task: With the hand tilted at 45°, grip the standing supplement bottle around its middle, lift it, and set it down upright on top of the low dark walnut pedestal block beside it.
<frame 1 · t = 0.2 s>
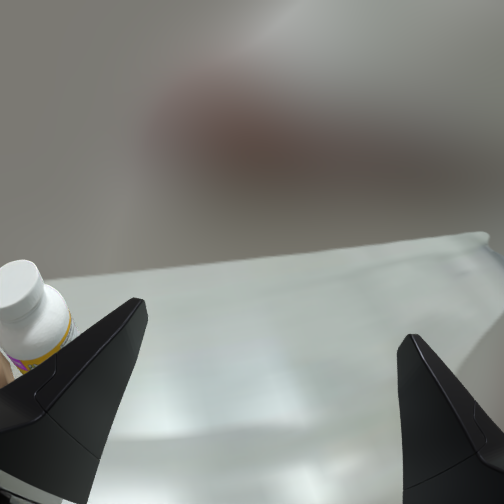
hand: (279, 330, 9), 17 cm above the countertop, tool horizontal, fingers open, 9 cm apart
supplement bottle: (72, 383, 22), on the countertop
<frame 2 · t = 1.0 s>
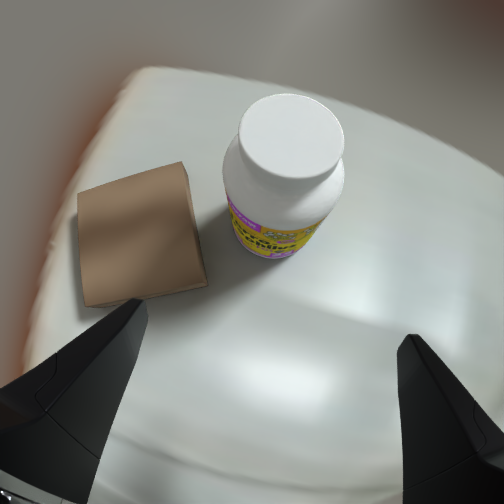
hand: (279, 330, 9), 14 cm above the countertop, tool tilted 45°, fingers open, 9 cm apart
supplement bottle: (272, 221, 25), on the countertop
walnut pedestal: (141, 240, 24), on the countertop
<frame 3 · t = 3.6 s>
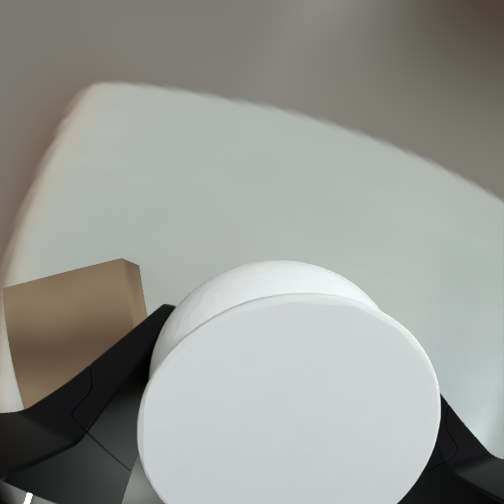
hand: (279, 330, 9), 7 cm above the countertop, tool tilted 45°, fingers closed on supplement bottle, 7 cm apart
supplement bottle: (264, 345, 16), on the countertop, touching gripper
walnut pedestal: (85, 356, 16), on the countertop
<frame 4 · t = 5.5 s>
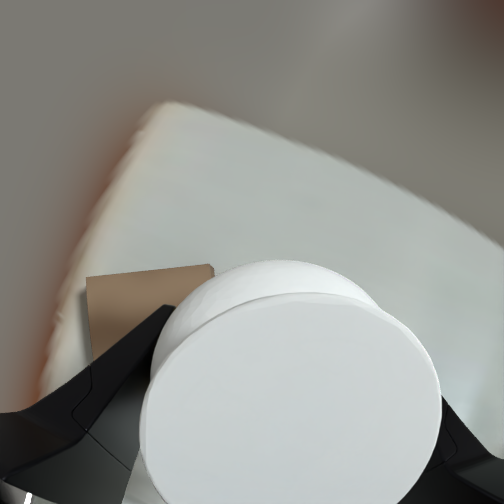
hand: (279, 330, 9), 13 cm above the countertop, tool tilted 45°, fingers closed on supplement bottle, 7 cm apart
supplement bottle: (264, 344, 16), point 6 cm above the countertop, touching gripper
walnut pedestal: (158, 337, 22), on the countertop
when the fingers open (11 cm above the countertop, at t = 7.3 s): supplement bottle stays where it is, resting on walnut pedestal.
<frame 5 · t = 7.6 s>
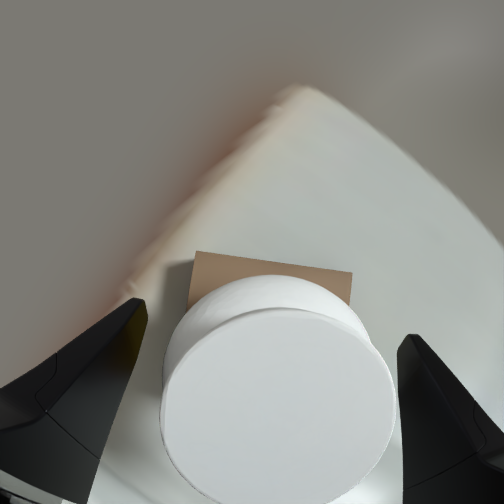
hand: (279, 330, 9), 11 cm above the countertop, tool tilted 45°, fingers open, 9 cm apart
supplement bottle: (261, 345, 17), point 2 cm above the countertop, touching walnut pedestal
walnut pedestal: (262, 338, 20), on the countertop
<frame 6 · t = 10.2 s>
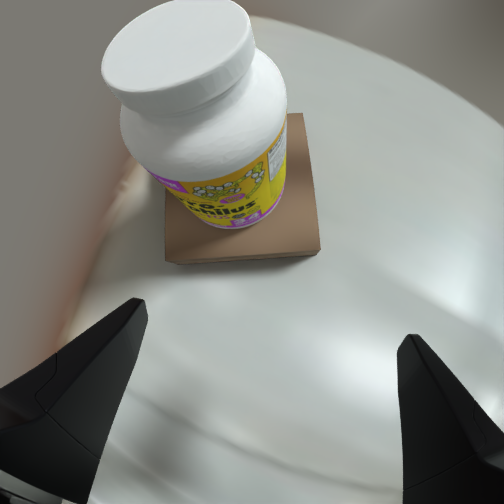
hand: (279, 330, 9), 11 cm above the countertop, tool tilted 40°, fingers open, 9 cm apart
supplement bottle: (235, 183, 19), point 2 cm above the countertop, touching walnut pedestal
walnut pedestal: (241, 192, 22), on the countertop
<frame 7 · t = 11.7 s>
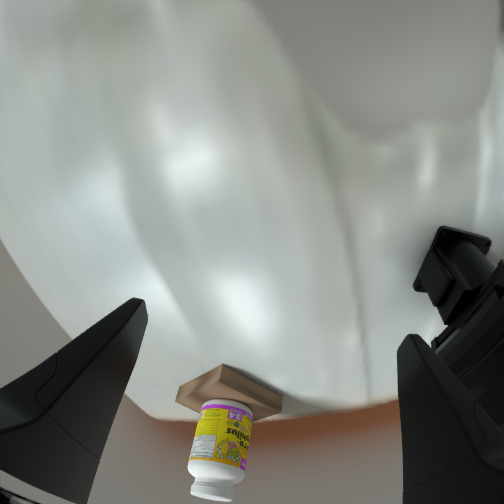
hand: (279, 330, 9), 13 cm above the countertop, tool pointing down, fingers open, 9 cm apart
supplement bottle: (228, 407, 34), point 2 cm above the countertop, touching walnut pedestal
walnut pedestal: (229, 392, 36), on the countertop
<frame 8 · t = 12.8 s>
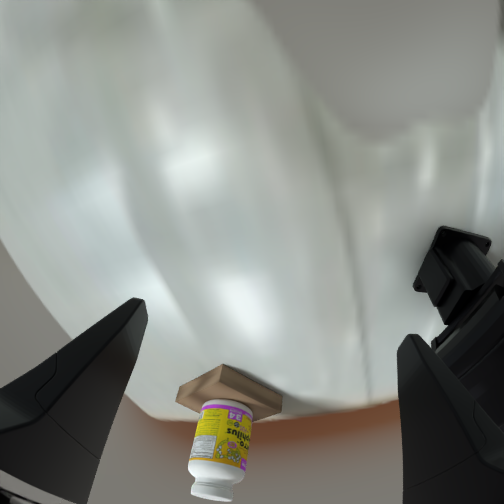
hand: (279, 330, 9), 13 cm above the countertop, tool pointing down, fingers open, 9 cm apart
supplement bottle: (228, 407, 34), point 2 cm above the countertop, touching walnut pedestal
walnut pedestal: (229, 392, 36), on the countertop
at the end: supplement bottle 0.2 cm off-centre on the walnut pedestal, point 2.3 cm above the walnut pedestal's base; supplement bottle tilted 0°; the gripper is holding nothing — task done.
